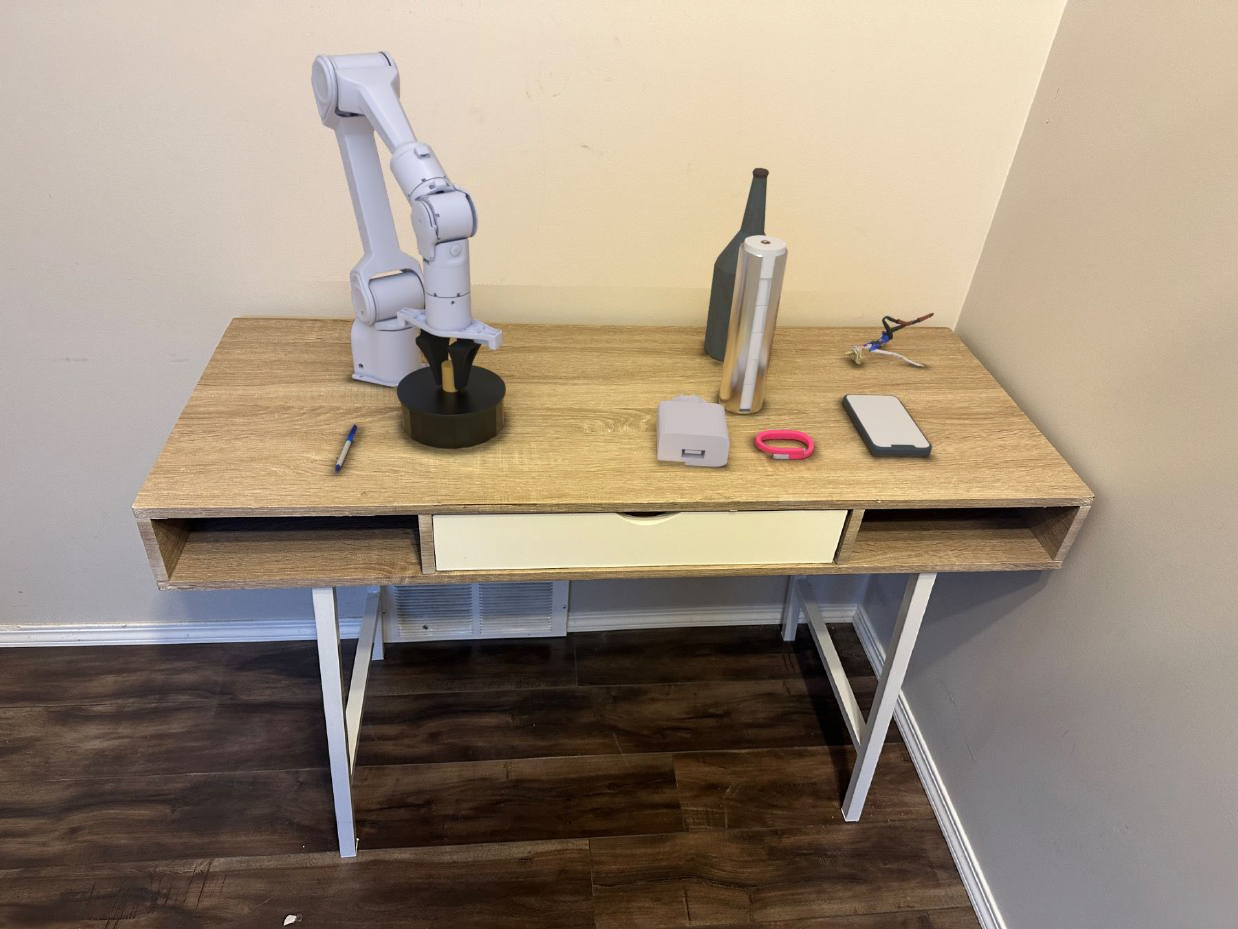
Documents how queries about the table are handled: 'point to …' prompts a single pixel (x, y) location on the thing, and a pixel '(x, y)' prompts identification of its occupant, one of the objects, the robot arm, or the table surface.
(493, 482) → the table surface
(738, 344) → the silver metal cylinder
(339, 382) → the table surface
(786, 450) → the fitness band
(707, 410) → the charger
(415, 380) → the tin lid
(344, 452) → the ballpoint pen
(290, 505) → the table surface
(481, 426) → the tin
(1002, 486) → the table surface
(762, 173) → the bottle
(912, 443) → the smartphone
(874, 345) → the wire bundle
